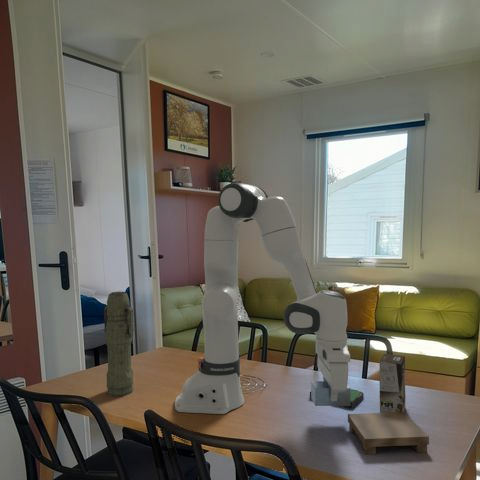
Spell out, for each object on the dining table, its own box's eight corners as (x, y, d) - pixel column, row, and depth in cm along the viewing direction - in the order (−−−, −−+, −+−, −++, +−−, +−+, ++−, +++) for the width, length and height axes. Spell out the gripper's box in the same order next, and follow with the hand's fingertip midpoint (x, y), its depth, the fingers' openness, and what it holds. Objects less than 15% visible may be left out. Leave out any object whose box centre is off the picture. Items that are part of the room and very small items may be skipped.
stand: (365, 455, 102) (365, 438, 102) (347, 428, 116) (347, 414, 116) (429, 452, 102) (428, 436, 102) (404, 426, 116) (404, 412, 116)
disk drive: (309, 400, 137) (353, 410, 128) (309, 392, 137) (352, 401, 128) (322, 390, 145) (364, 399, 137) (322, 382, 145) (363, 390, 136)
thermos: (113, 385, 152) (111, 290, 151) (141, 388, 148) (139, 291, 147) (97, 394, 143) (95, 293, 143) (127, 398, 139) (124, 294, 139)
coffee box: (402, 419, 121) (401, 363, 120) (379, 414, 124) (378, 361, 124) (406, 407, 129) (405, 355, 128) (384, 403, 132) (384, 352, 132)
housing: (315, 405, 116) (315, 388, 116) (311, 398, 122) (311, 381, 122) (350, 405, 117) (350, 388, 117) (344, 398, 122) (345, 381, 122)
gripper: (312, 338, 129) (312, 382, 130) (328, 358, 109) (328, 410, 109) (332, 338, 130) (332, 382, 130) (352, 358, 109) (351, 410, 109)
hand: (330, 395), depth 119 cm, fingers closed on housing, 5 cm apart
